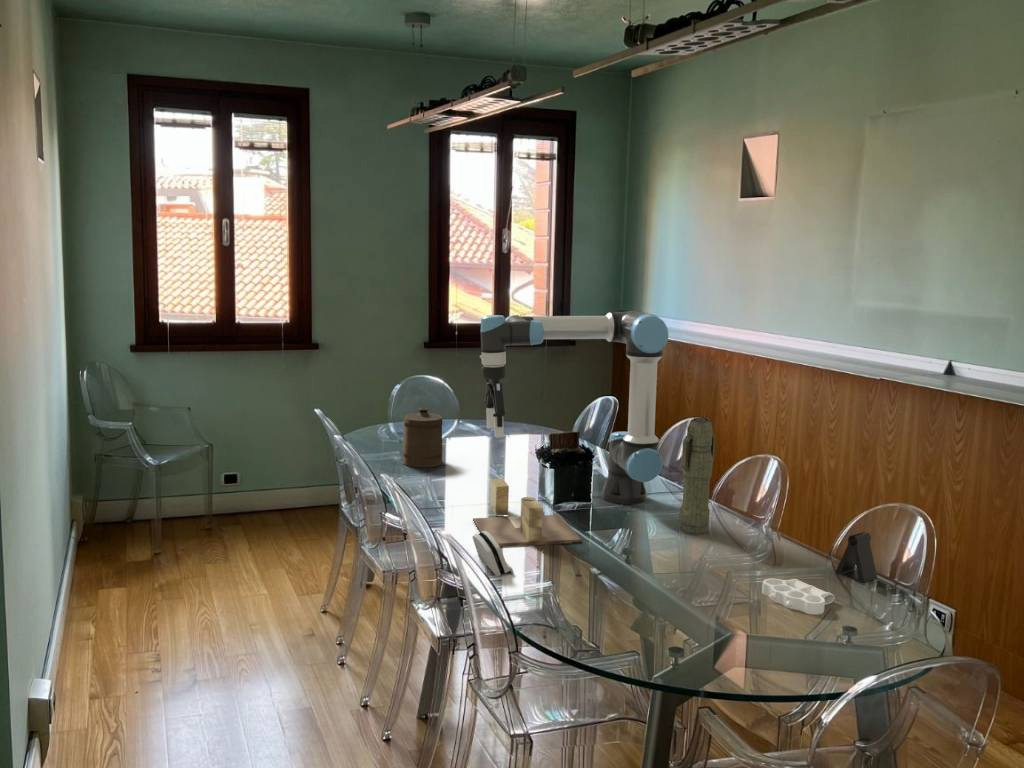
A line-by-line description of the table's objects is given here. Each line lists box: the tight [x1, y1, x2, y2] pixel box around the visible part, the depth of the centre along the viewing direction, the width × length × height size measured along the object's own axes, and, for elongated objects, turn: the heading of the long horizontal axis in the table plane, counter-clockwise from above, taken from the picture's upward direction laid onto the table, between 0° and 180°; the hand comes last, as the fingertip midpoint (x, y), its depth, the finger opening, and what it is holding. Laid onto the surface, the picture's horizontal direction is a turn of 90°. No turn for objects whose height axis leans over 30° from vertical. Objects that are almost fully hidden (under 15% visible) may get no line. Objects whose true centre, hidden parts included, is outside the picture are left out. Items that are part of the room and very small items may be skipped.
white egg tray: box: [761, 577, 836, 615], centre depth 246 cm, size 3×18×15 cm
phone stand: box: [835, 531, 878, 584], centre depth 263 cm, size 9×6×12 cm, turn 36°
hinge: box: [472, 531, 515, 577], centre depth 264 cm, size 17×5×10 cm, turn 19°
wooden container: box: [402, 405, 443, 469], centre depth 369 cm, size 15×15×22 cm
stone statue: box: [679, 417, 716, 536], centre depth 296 cm, size 9×12×35 cm
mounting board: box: [472, 496, 582, 548], centre depth 292 cm, size 28×24×11 cm
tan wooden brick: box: [489, 478, 510, 516], centre depth 311 cm, size 4×9×10 cm, turn 13°
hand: (495, 432), depth 303 cm, fingers open, 13 cm apart
